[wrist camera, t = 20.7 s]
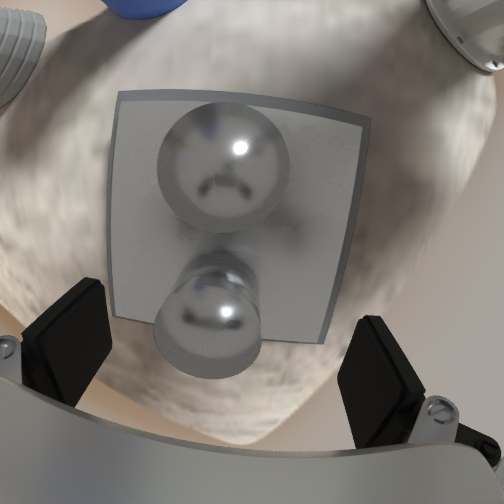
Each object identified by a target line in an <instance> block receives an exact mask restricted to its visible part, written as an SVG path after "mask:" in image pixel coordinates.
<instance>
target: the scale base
mask: <svg viewBox="0 0 504 504" xmlns="http://www.w3.org/2000/svg"><path fill="white" fill-rule="evenodd" d="M125 101H201V102H233V103H239V104H243V105H249V106H258V107H265V108H272V109H279V110H285V111H292V112H297V113H303V114H308V115H313V116H318V117H323V118H328V119H332V120H336V121H341V122H345V123H349V124H353V125H357V126H361V127H362V134H361V142H360V149H359V156H358V163H357V170H356V176H355V183H354V189H353V194H352V200H351V206H350V211H349V216H348V221H347V226H346V231H345V236H344V241H343V245H342V250H341V254H340V259H339V263H338V267H337V272H336V276H335V280H334V284H333V288H332V292H331V296H330V299H329V303H328V307H327V310H326V314H325V318H324V321H323V325H322V328H321V332H320V335H319V338H318V342H317V343H312V342H297V341H284V340H272V339H261V340H267V341H278V342H291V343H305V344H323V345H324V341H325V338H326V335H327V332H328V328H329V325H330V322H331V318H332V315H333V311H334V308H335V304H336V301H337V297H338V293H339V290H340V286H341V282H342V278H343V274H344V270H345V266H346V262H347V257H348V253H349V249H350V244H351V240H352V235H353V230H354V226H355V221H356V216H357V211H358V205H359V200H360V194H361V188H362V183H363V176H364V170H365V163H366V156H367V149H368V141H369V133H370V124H371V118H369V117H366V116H362V115H358V114H355V113H351V112H347V111H343V110H339V109H335V108H330V107H326V106H321V105H317V104H312V103H307V102H301V101H296V100H290V99H284V98H277V97H271V96H263V95H255V94H246V93H236V92H225V91H210V90H182V89H158V90H132V91H118V96H117V102H116V108H115V114H114V121H113V129H112V137H111V147H110V157H109V170H108V188H107V258H108V276H109V289H110V300H111V310H112V316H113V317H118V318H122V319H127V320H132V321H137V322H142V323H147V324H152V325H154V323H149V322H144V321H139V320H134V319H129V318H124V317H120V316H116V312H115V302H114V290H113V276H112V256H111V196H112V176H113V162H114V151H115V141H116V132H117V125H118V117H119V111H120V104H121V102H125Z"/></svg>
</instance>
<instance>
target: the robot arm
mask: <svg viewBox="0 0 504 504" xmlns="http://www.w3.org/2000/svg"><path fill="white" fill-rule="evenodd" d="M426 3H427V6H428V8H429V10H430V13H431V15H432V17H433V18H434V20H435V22H436V24H437V25H438V27H439V28H440V30H441V31H442V32H443V34H444V35H445V36H446V38H447V39H448V40H449V41H450V43H451V44H452V45H453V46H454V47H455V48H456V49H457V50H458V51H459V52H460V53H461V54H462V55H463V56H464V57H465V58H466V59H467V60H468V61H470V62H471V63H472V64H474V65H475V66H477V67H479V68H480V69H482V70H485V71H488V72H496V71H500V70H502V69H504V0H426ZM21 334H22V337H23V341H22V342H21V343H20V341H19V340H18V339H17V338H16V337H14V336H10V335H4V336H0V504H504V457H503V458H502V459H501V450H500V447H499V445H498V443H497V442H496V441H495V440H494V439H492V438H491V437H489V436H487V435H484V434H482V433H480V432H478V431H476V430H474V429H471V428H469V427H467V426H465V425H463V424H461V423H459V411H458V409H457V407H456V406H455V404H454V403H453V402H451V401H450V400H449V399H447V398H445V397H442V396H430V397H428V398H427V399H426V398H425V396H424V393H425V391H426V390H425V388H424V386H423V385H422V383H421V381H420V380H419V378H418V376H417V374H416V372H415V371H414V370H413V367H412V366H411V364H410V362H409V361H408V359H407V357H406V356H405V354H404V353H403V351H402V349H401V348H400V346H399V344H398V343H397V341H396V340H395V338H394V337H393V335H392V333H391V332H390V330H389V329H388V327H387V326H386V324H385V323H384V321H383V319H382V318H381V317H380V316H373V315H365V316H364V317H363V319H359V320H358V322H357V325H356V328H355V331H354V334H353V336H352V339H351V342H350V344H349V347H348V350H347V352H346V355H345V357H344V360H343V362H342V365H341V367H340V370H339V372H338V376H337V381H338V385H339V388H340V392H341V395H342V399H343V403H344V406H345V410H346V413H347V417H348V421H349V424H350V428H351V432H352V435H353V440H354V443H355V447H356V449H350V450H335V451H312V452H311V451H310V452H309V451H307V452H293V451H290V452H289V451H288V452H287V451H264V450H251V449H239V448H230V447H222V446H215V445H207V444H201V443H195V442H190V441H185V440H179V439H175V438H169V437H165V436H161V435H157V434H153V433H149V432H144V431H141V430H137V429H134V428H130V427H127V426H124V425H120V424H117V423H114V422H111V421H108V420H105V419H102V418H99V417H96V416H94V415H91V414H88V413H85V412H83V411H80V410H78V409H75V406H76V405H77V403H78V401H79V400H80V398H81V396H82V395H83V393H84V392H85V390H86V388H87V387H88V385H89V384H90V382H91V380H92V379H93V377H94V376H95V374H96V373H97V371H98V369H99V368H100V366H101V365H102V363H103V362H104V360H105V359H106V357H107V356H108V354H109V353H110V351H111V349H112V338H111V332H110V326H109V319H108V312H107V305H106V297H105V288H104V285H103V284H101V282H100V280H98V279H93V278H88V277H85V278H83V279H82V280H81V281H80V282H78V283H77V284H76V285H75V286H74V287H72V288H71V289H70V290H69V291H68V292H67V293H65V294H64V295H63V296H62V297H61V298H60V299H58V300H57V301H56V302H55V303H54V304H53V305H51V306H50V307H49V308H48V309H47V310H46V311H45V312H44V313H43V314H41V315H40V316H39V317H38V318H37V319H36V320H35V321H34V322H33V323H32V324H31V325H29V326H28V327H27V328H26V329H25V330H24V331H23V332H22V333H21Z"/></svg>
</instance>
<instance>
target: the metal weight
mask: <svg viewBox="0 0 504 504" xmlns="http://www.w3.org/2000/svg"><path fill="white" fill-rule="evenodd" d="M289 172H290V161H289V154H288V149H287V146H286V143H285V141H284V139H283V137H282V135H281V133H280V132H279V130H278V129H277V127H276V126H275V125H274V124H273V123H272V122H271V121H270V120H269V119H268V118H267V117H266V116H265V115H263V114H262V113H260V112H259V111H257V110H255V109H253V108H251V107H249V106H246V105H243V104H239V103H233V102H215V103H209V104H205V105H202V106H200V107H197V108H195V109H193V110H191V111H189V112H188V113H186V114H185V115H183V116H182V117H181V118H180V119H179V120H178V121H176V122H175V123H174V125H173V126H172V127H171V128H170V130H169V131H168V133H167V134H166V136H165V137H164V140H163V142H162V144H161V147H160V150H159V153H158V159H157V178H158V183H159V187H160V190H161V192H162V195H163V197H164V199H165V201H166V202H167V204H168V205H169V207H170V208H171V209H172V210H173V211H174V212H175V214H176V215H177V216H179V217H180V218H181V219H182V220H183V221H185V222H187V223H188V224H190V225H192V226H194V227H196V228H198V229H201V230H205V231H209V232H214V233H230V232H236V231H240V230H243V229H246V228H249V227H251V226H253V225H255V224H257V223H258V222H260V221H261V220H263V219H264V218H265V217H266V216H268V215H269V214H270V213H271V212H272V211H273V210H274V208H275V207H276V206H277V204H278V203H279V202H280V200H281V198H282V196H283V194H284V192H285V189H286V187H287V184H288V179H289Z"/></svg>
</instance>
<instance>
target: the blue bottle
mask: <svg viewBox="0 0 504 504" xmlns="http://www.w3.org/2000/svg"><path fill="white" fill-rule="evenodd" d="M101 1H103V2H104V3H105V4H106V5H107V6H108V7H109V8H110V9H111V10H112V11H113V12H114V13H116V14H117V15H118V16H120V17H122V18H125V19H129V20H144V19H149V18H154V17H157V16H160V15H163V14H165V13H167V12H170V11H172V10H174V9H175V8H177V7H179V6H180V5H182V4H183V3H185V2H186V1H187V0H101Z"/></svg>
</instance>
